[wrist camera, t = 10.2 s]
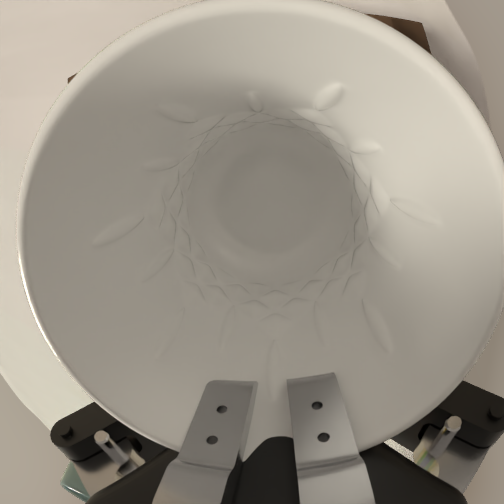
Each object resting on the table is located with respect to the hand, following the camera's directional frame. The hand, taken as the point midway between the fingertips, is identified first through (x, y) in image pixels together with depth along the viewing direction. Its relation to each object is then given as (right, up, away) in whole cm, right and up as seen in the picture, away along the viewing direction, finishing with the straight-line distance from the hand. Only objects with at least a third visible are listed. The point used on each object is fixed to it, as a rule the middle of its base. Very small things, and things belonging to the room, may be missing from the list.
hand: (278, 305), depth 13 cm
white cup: (0, +5, 0) cm, 5 cm away
